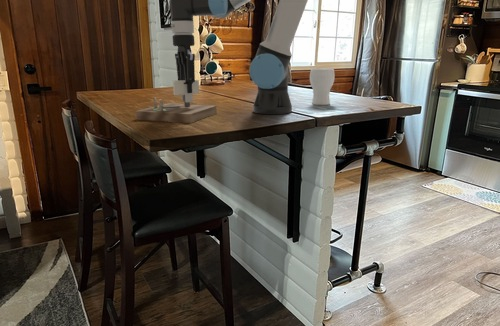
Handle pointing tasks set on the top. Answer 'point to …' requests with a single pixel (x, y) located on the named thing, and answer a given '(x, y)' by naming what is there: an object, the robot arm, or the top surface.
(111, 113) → the top surface
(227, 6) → the robot arm
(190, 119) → the board
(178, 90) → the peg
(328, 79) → the cup
